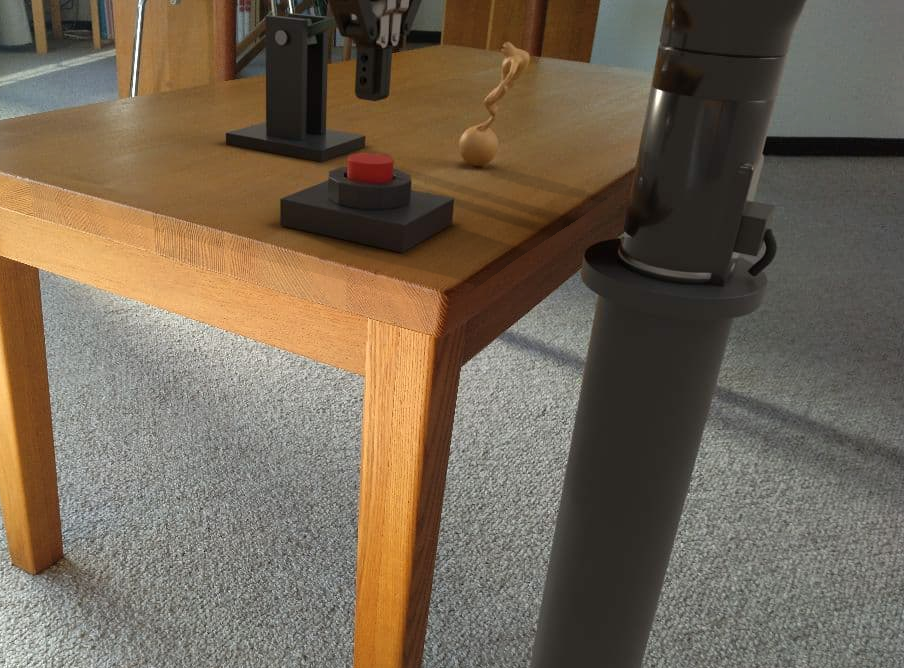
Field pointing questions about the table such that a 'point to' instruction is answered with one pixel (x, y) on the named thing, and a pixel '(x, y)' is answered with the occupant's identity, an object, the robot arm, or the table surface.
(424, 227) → the button block
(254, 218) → the table surface
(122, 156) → the table surface
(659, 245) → the robot arm
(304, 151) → the bracket
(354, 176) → the button
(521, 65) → the figurine
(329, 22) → the lever
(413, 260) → the table surface
